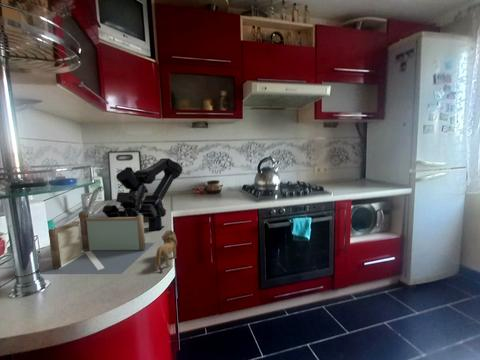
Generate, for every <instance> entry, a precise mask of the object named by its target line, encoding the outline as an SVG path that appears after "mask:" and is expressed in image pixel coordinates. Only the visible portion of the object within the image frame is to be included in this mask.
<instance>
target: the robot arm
mask: <svg viewBox="0 0 480 360" xmlns="http://www.w3.org/2000/svg"><path fill="white" fill-rule="evenodd" d="M162 172H163V173H164V175H163V177H162V179H161V181H160V182H159V183H158V185H157V187H156V188H155V190H154V192H153V194H151V195H150V194H148V195H145V194H147V193H149V190H148V188H147V186H146V185H151V184H153V183H154V181H155V180H156V177H157V175H158V174H160V173H162ZM182 173H183V166H182V165H181V164H180V163H178V162H176V161H173V160H172V159H171V158H164V157H163V158H160V159H159V160H158V161H156V162H155V163H154V164H152V165H150V166H149V167H147V168H140V169H138V170H136V171H134V170H133V168H132V167H130V166H127V167H125V168H124V169H122V170H120V171H119V172H118V173H117V174H116V180H117V181H118V183H120V184H121V185H122V186H123V188H125V189H126V190H128V192H117V194H116V201H115V202H116V203H120V204H119V205H120V207H118V206H117V205H115V204H109V205H108V204H107V205H104V206H103V208H102V210H101V211H102V213H103V214H104V215H105V216H106V217H137V216H138V215H143V218H147V223H148V224H147V225H148V228H147V229H145V231H146V232H160V231H162V230H163V229H164V228H165V227H166V226H164V225H163V224H162V223H163V221H162V218H163V217H165V216H166V214H167V210H166V209H165V207H164V204H163V200H164V197H165V196H166V194H167V193H168V190H169V189H170V187H171V185H172V184H173V181H174V180H176V179H178V178H179V177H180V176H181V174H182ZM144 195H145V197H144Z"/></svg>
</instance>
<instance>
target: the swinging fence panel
mask: <svg viewBox="0 0 480 360" xmlns="http://www.w3.org/2000/svg"><path fill="white" fill-rule="evenodd" d="M86 222H87V232H88V242H89V250H144V249H145V243H146V239H145V237H146V236H145V226H144V223H145V222H144V217H143V214H141V215H138V216H137V217H107V216H106V217H105V216H104V217H103V216H101V217H88V218H87V219H86Z"/></svg>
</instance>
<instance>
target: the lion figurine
mask: <svg viewBox="0 0 480 360" xmlns="http://www.w3.org/2000/svg"><path fill="white" fill-rule="evenodd" d="M161 240H162V241H163V243H164V244H163V245H160V246H159V247H158V248H157V250H156V258H155V264H154V270H155V272H158V271H159V273H160V274H163V268H162V266H161V257H162V258H163V259H164V261H165V265H166V267H167V268H170V267H172V264H170V263H169V261H170V260H169V259H170V256H169V255H171V254H172V259H177V246H178V240H177V236H176V233H175V232H174V231H173V230H172V229H167V230H165V232H164V233H163V235H162V236H161Z"/></svg>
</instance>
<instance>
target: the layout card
mask: <svg viewBox="0 0 480 360" xmlns="http://www.w3.org/2000/svg"><path fill="white" fill-rule="evenodd" d="M154 244H155V242H145V249H144V250H90V251H87V252H83V246H81V251H82V255H80V256H78V257H77V258H75V259H73V260H72V261H70V262H68V263H67V264H65V265H63V266H62V267H61V268H59V269H57V270H53V264H52V263H51V264H49V265H48V266H45V268H42V269H41V270H39V271H40V274H39V275H88V274H89V275H95V274H96V275H116V274H117V275H118V274H119V275H122V274H123V273H124V272H125V271H127V270H128V269H129V268H130V267H131V266H132V265H133V264H134V263H135V262H137V260H138V259H140V258H141V256H143V254H145V253H146V252H147V251H148V250H149V249H150V248H151V247H152V246H154Z"/></svg>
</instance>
